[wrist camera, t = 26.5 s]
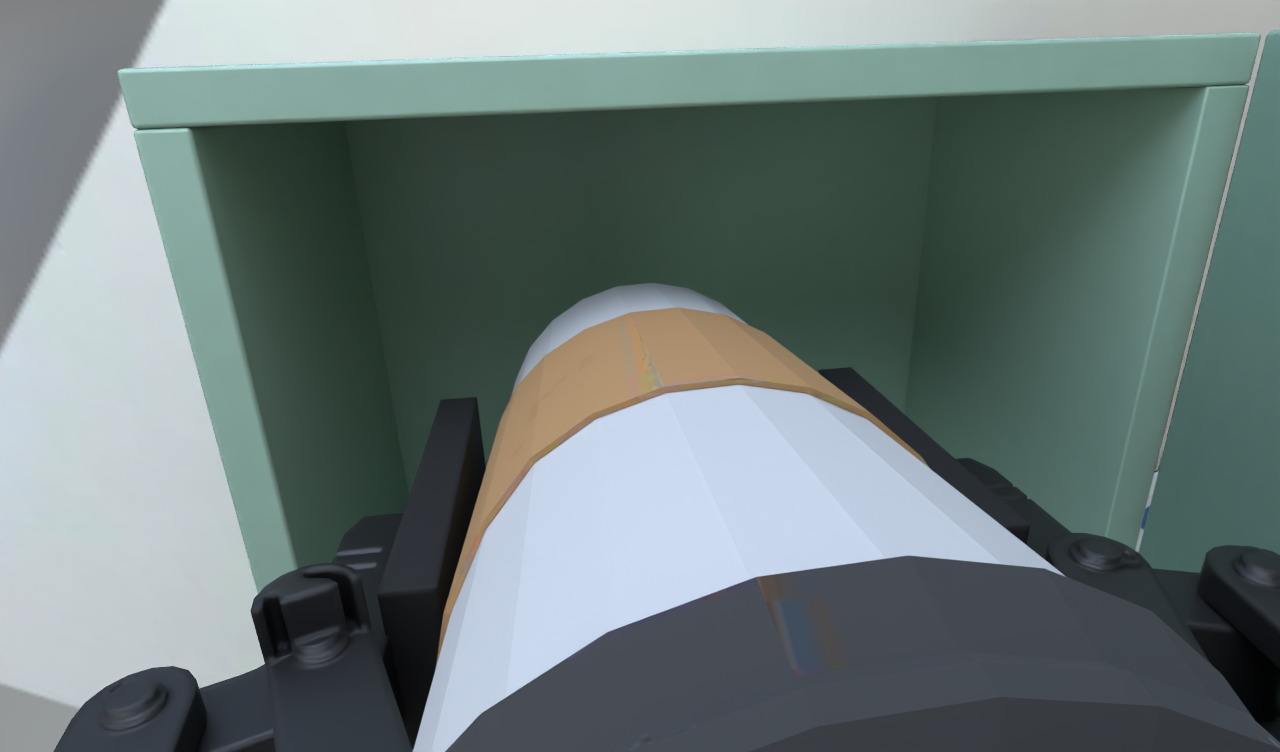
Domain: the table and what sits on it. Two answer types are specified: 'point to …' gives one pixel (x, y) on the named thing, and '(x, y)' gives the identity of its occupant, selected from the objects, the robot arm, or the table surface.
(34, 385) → the table surface
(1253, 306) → the box lid
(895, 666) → the coffee cup
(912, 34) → the table surface
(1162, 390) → the green box
